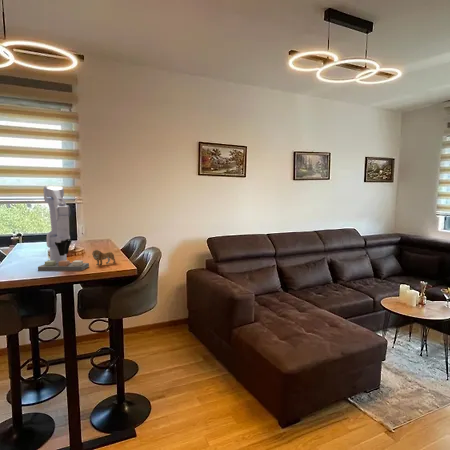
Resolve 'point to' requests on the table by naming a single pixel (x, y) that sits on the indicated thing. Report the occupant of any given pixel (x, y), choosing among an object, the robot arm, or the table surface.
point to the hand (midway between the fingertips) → (63, 254)
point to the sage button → (50, 263)
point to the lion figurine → (102, 256)
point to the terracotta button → (64, 263)
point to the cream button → (77, 263)
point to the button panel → (63, 267)
